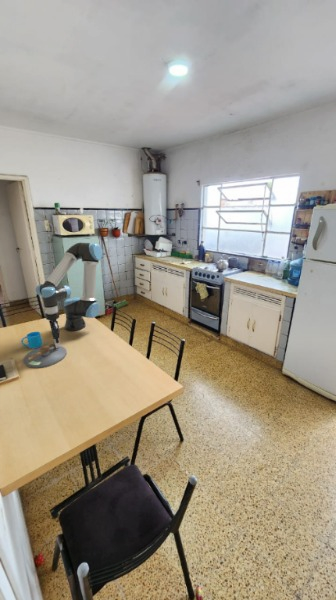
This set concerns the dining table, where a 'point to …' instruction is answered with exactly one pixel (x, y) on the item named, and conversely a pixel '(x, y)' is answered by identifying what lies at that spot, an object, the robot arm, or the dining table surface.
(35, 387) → the dining table surface
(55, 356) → the dial plate
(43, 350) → the dial arm
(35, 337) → the mug
